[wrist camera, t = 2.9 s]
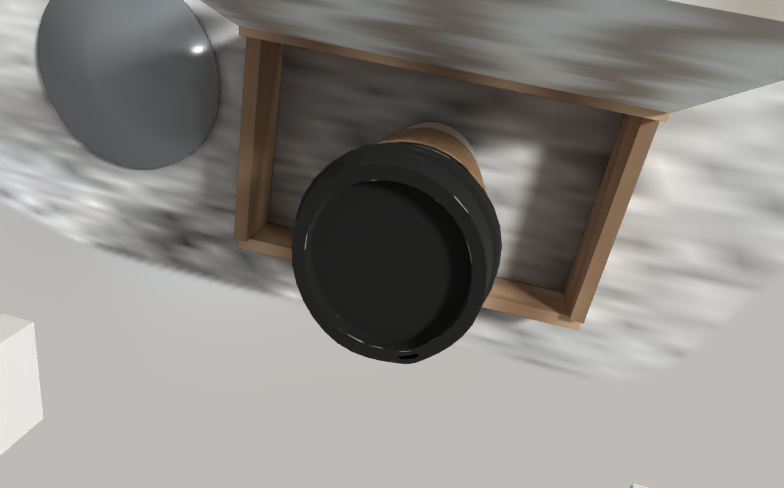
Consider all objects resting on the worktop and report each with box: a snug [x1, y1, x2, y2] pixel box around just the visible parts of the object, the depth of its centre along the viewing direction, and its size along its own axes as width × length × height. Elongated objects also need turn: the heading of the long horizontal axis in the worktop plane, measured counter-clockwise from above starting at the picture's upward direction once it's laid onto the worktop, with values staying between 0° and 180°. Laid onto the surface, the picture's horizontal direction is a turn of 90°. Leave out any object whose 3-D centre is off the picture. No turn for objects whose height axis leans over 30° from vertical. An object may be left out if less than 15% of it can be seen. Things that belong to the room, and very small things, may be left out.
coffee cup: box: [292, 122, 502, 364], centre depth 26 cm, size 8×8×15 cm
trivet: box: [38, 0, 220, 169], centre depth 34 cm, size 12×12×1 cm
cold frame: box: [201, 0, 784, 330], centre depth 24 cm, size 22×19×18 cm
